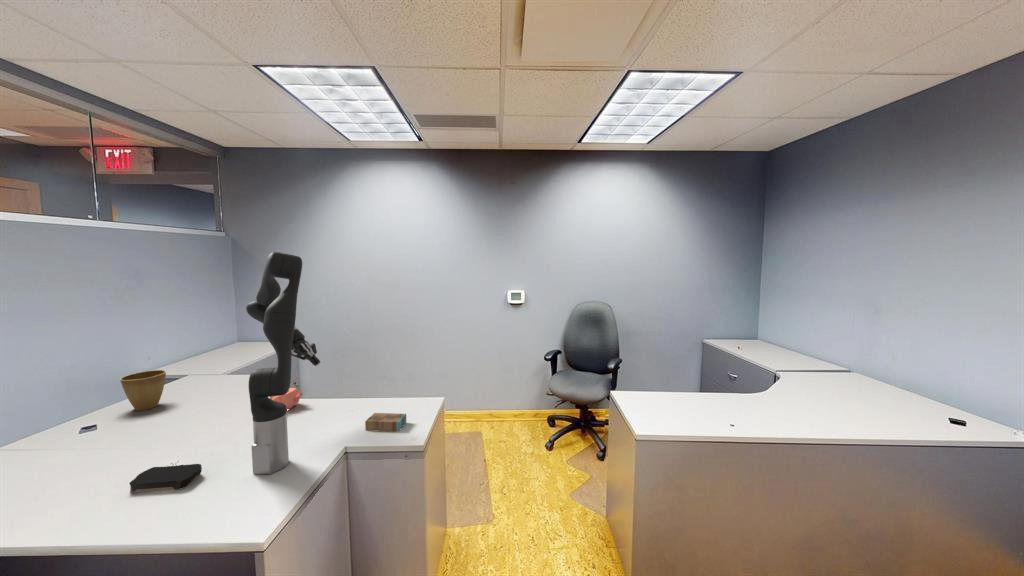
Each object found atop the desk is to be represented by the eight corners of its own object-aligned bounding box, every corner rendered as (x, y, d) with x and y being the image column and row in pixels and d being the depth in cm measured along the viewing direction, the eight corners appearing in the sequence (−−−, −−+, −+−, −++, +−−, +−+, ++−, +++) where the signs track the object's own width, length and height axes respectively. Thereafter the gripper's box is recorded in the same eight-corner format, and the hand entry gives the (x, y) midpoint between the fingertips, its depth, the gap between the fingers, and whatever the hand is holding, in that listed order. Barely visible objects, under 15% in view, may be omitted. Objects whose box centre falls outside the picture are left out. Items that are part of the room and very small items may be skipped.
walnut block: (365, 430, 141) (398, 431, 140) (365, 421, 141) (398, 422, 139) (374, 421, 149) (406, 422, 148) (374, 412, 148) (406, 413, 147)
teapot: (303, 408, 163) (303, 388, 163) (273, 415, 155) (272, 394, 155) (298, 401, 172) (297, 382, 171) (269, 407, 164) (268, 387, 163)
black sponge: (206, 474, 112) (205, 463, 112) (184, 490, 103) (184, 479, 103) (150, 478, 110) (149, 466, 110) (123, 495, 102) (122, 483, 101)
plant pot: (137, 403, 169) (135, 371, 168) (175, 400, 174) (173, 368, 173) (113, 416, 155) (110, 381, 154) (155, 411, 160) (152, 377, 159)
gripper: (283, 331, 138) (313, 362, 138) (305, 325, 151) (333, 353, 151) (271, 344, 139) (301, 375, 139) (294, 337, 152) (322, 365, 152)
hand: (318, 363), depth 145 cm, fingers closed
